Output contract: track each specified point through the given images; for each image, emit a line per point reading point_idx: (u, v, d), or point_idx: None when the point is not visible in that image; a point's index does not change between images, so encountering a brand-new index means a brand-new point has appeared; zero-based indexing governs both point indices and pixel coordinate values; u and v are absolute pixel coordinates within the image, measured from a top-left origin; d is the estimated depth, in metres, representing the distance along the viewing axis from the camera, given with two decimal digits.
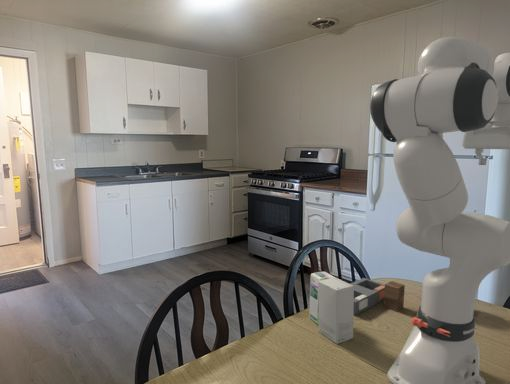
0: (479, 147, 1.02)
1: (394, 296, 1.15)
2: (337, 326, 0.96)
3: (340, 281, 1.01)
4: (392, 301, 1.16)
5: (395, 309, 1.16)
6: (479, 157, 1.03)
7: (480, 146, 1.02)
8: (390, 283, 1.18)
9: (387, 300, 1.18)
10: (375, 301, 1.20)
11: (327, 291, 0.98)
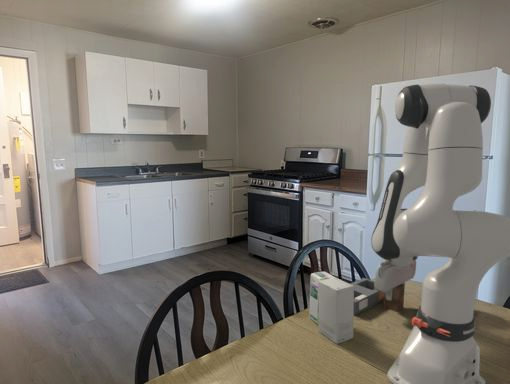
0: (391, 288, 1.13)
1: (394, 296, 1.15)
2: (337, 326, 0.96)
3: (340, 281, 1.01)
4: (392, 301, 1.16)
5: (395, 309, 1.16)
6: (391, 294, 1.15)
7: (392, 287, 1.13)
8: None
9: (387, 300, 1.18)
10: (375, 301, 1.20)
11: (327, 291, 0.98)
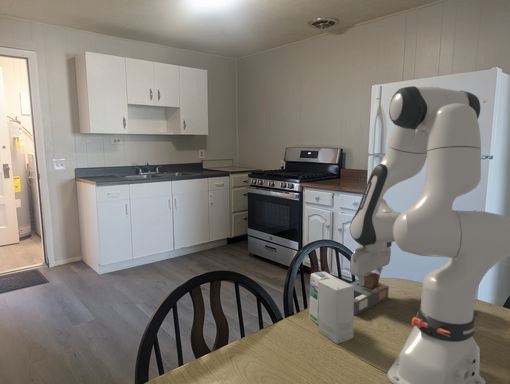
0: (365, 273, 1.20)
1: (369, 284, 1.23)
2: (337, 326, 0.96)
3: (340, 281, 1.01)
4: None
5: None
6: (363, 280, 1.21)
7: (366, 272, 1.20)
8: None
9: None
10: (375, 301, 1.20)
11: (327, 291, 0.98)
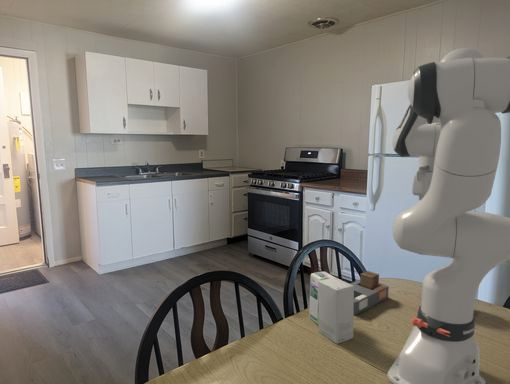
0: None
1: (369, 284, 1.23)
2: (337, 326, 0.96)
3: (340, 281, 1.01)
4: None
5: None
6: None
7: None
8: (365, 273, 1.26)
9: None
10: (375, 301, 1.20)
11: (327, 291, 0.98)
